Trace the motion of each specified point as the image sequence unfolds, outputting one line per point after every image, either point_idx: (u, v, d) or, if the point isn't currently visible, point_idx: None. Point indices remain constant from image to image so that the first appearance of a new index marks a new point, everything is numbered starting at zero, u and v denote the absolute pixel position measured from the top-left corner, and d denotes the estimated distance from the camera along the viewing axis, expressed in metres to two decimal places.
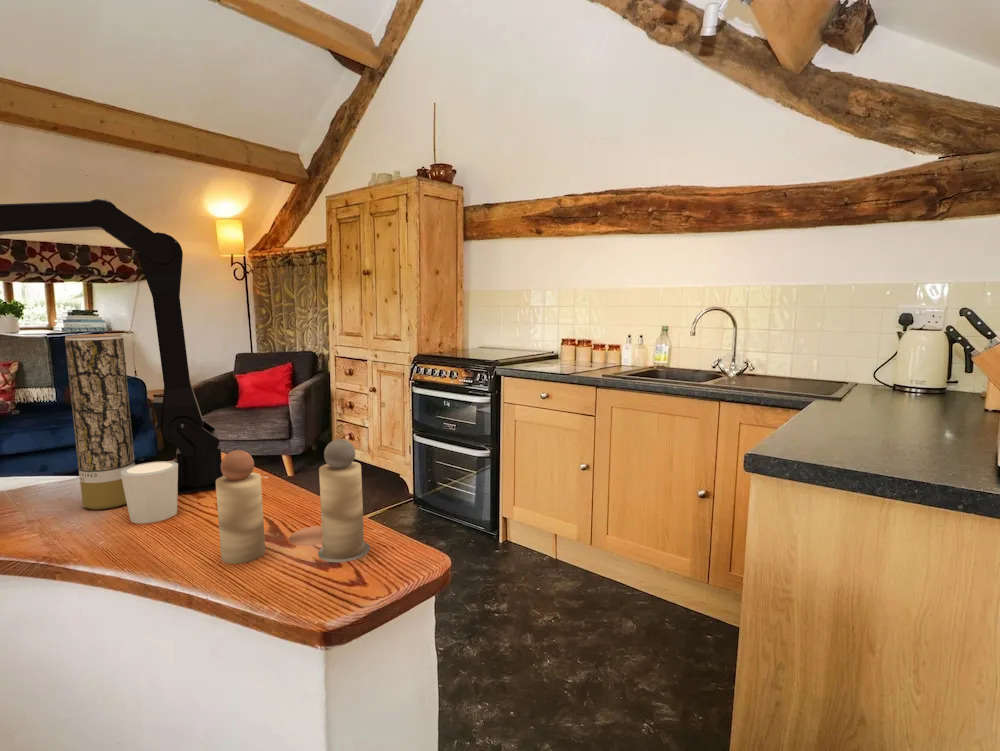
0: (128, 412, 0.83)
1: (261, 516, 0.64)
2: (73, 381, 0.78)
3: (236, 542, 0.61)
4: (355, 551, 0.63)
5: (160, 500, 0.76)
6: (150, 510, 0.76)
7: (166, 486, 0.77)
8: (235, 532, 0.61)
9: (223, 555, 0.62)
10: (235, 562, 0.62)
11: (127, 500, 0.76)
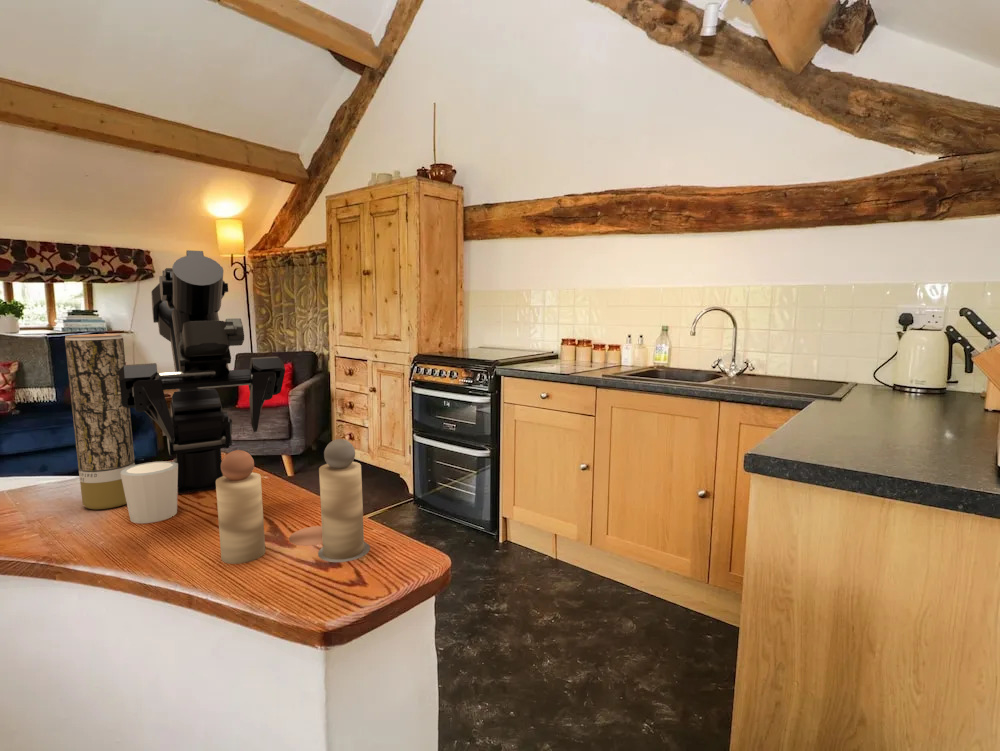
0: (128, 412, 0.83)
1: (261, 516, 0.64)
2: (73, 381, 0.78)
3: (236, 542, 0.61)
4: (355, 551, 0.63)
5: (160, 500, 0.76)
6: (150, 510, 0.76)
7: (166, 486, 0.77)
8: (235, 532, 0.61)
9: (223, 555, 0.62)
10: (235, 562, 0.62)
11: (127, 500, 0.76)
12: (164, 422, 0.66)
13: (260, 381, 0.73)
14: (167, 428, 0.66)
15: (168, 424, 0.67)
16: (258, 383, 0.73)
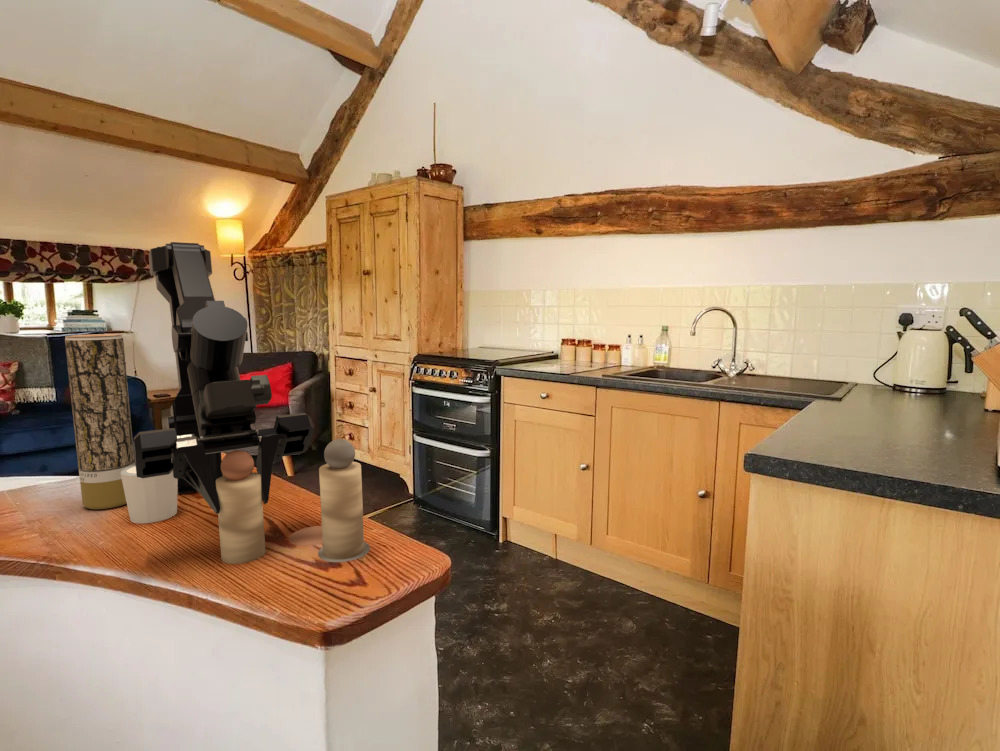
0: (128, 412, 0.83)
1: (261, 516, 0.63)
2: (73, 381, 0.78)
3: (236, 542, 0.61)
4: (355, 551, 0.63)
5: (160, 500, 0.76)
6: (150, 510, 0.76)
7: (166, 486, 0.77)
8: (235, 532, 0.61)
9: (223, 555, 0.62)
10: (236, 562, 0.62)
11: (127, 500, 0.76)
12: (208, 492, 0.61)
13: (270, 445, 0.66)
14: (212, 499, 0.61)
15: (213, 494, 0.61)
16: (267, 447, 0.66)
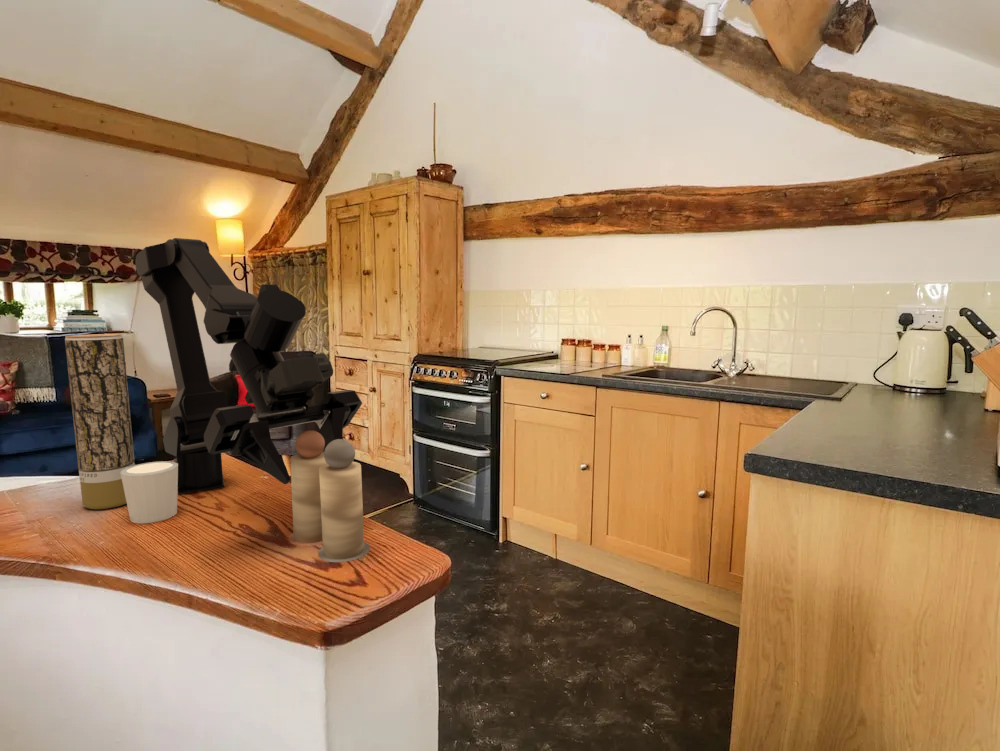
0: (128, 412, 0.83)
1: None
2: (73, 381, 0.78)
3: (314, 515, 0.67)
4: (355, 551, 0.63)
5: (160, 500, 0.76)
6: (150, 510, 0.76)
7: (166, 486, 0.77)
8: (314, 506, 0.66)
9: (299, 528, 0.67)
10: (313, 533, 0.67)
11: (127, 500, 0.76)
12: (277, 464, 0.64)
13: (338, 417, 0.72)
14: (281, 470, 0.64)
15: (281, 466, 0.64)
16: (336, 419, 0.72)
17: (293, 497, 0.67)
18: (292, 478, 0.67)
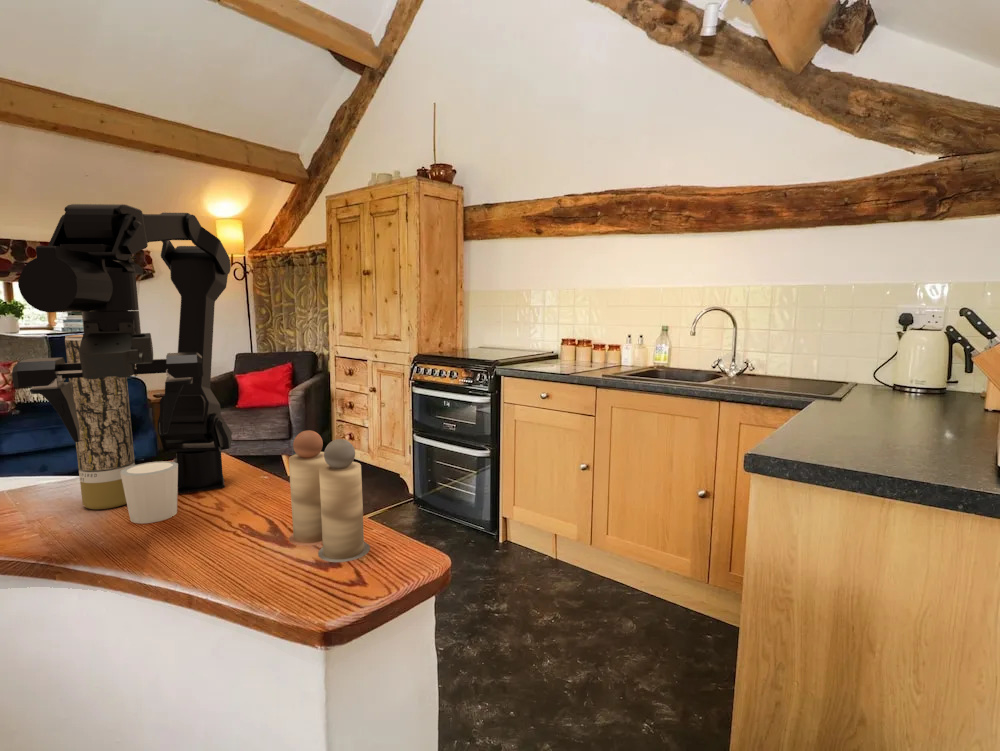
0: (128, 412, 0.83)
1: None
2: (73, 381, 0.78)
3: (313, 515, 0.67)
4: (355, 551, 0.63)
5: (160, 500, 0.76)
6: (150, 510, 0.76)
7: (166, 486, 0.77)
8: (313, 505, 0.66)
9: (299, 528, 0.67)
10: (312, 533, 0.67)
11: (127, 500, 0.76)
12: (67, 427, 0.66)
13: (173, 388, 0.70)
14: (70, 433, 0.67)
15: (71, 429, 0.66)
16: (171, 389, 0.70)
17: (292, 497, 0.67)
18: (291, 478, 0.67)
